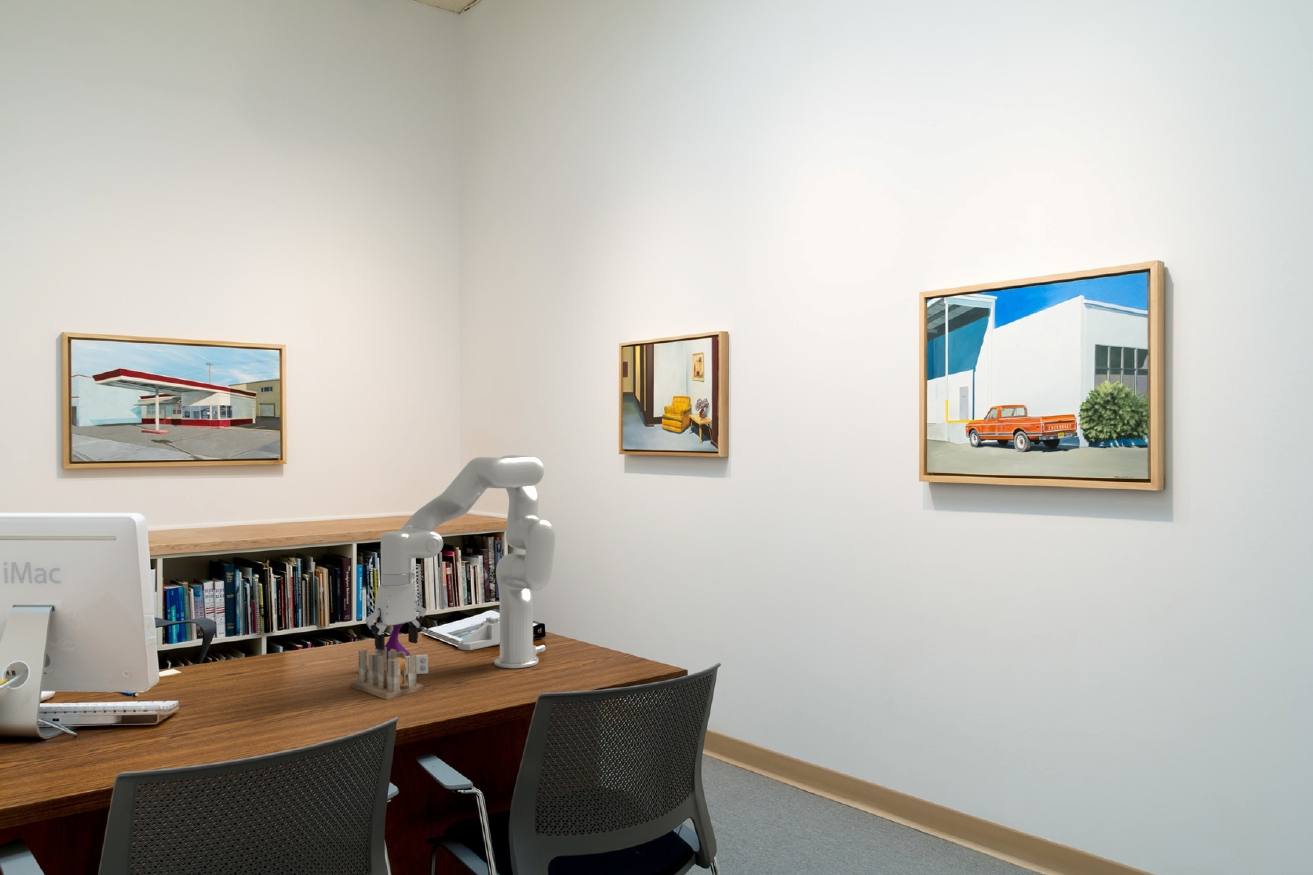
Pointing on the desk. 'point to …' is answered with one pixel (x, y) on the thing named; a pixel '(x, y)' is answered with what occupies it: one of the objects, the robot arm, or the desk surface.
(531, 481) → the robot arm
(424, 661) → the card
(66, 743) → the desk surface
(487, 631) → the sloped support bracket
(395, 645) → the purple potion bottle
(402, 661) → the orange ball
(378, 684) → the ball rack
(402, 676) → the seated orange ball
